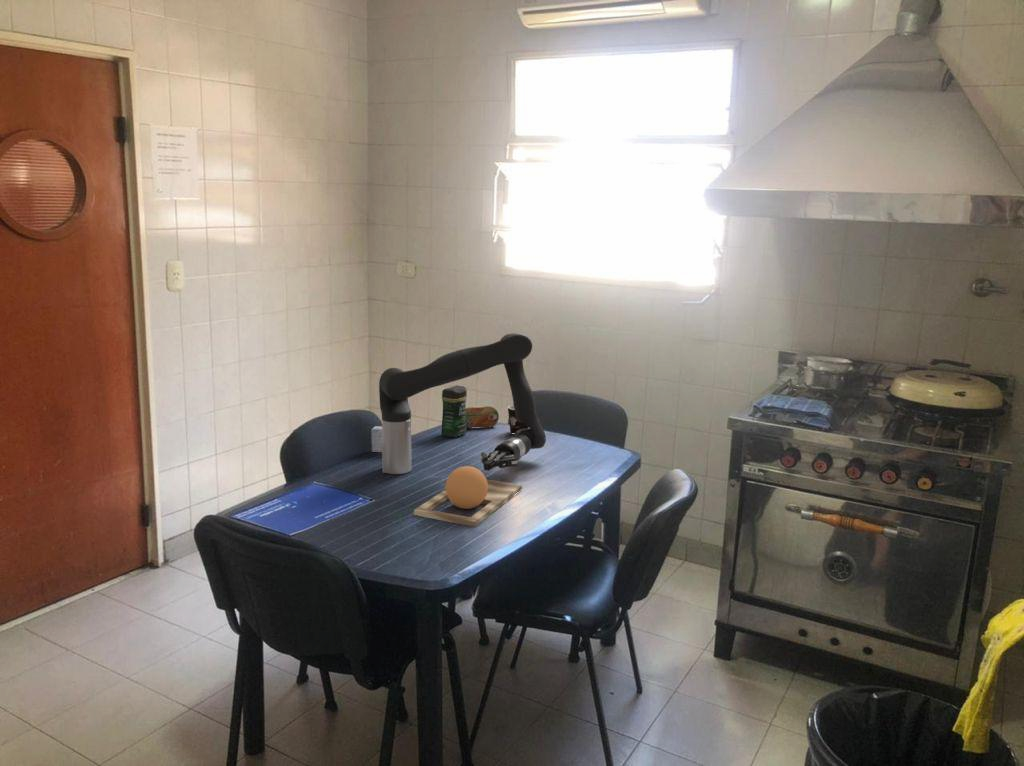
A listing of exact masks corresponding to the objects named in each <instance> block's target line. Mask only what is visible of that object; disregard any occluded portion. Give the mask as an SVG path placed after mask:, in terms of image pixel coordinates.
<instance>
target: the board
mask: <svg viewBox="0 0 1024 766" xmlns="http://www.w3.org/2000/svg"><path fill="white" fill-rule="evenodd" d="M486 480H487V484H488V491H487V495H486V497H485V499H484V500H483V501H482V502H481V503H480V504H479V505H484V507H482V508H481V509H480V510H479V511H476V512H475V513H474V514H473V515H472V516H470V517H469V516H465V515H460V514H454V513H447V512H443V511H438V510H434V509H435V508H437V507H439V506H440V505H441V504H443V503H444V502H446V501H447V500H449V498H448V497H447V494H446V488H445V489H444V490H442V491H441V492H439V493H438V494H436V495H435V496H433V497H432V498H430V499H428V500H427V501H426V502H424V503H422V504H420V505H419V506H418V507H416V508H415V509H413V515H414V516H416V515H417V516H418V517H423V518H427V519H428V518H429V519H431V520H432V519H433V520H438V521H444V522H449V523H454V524H459V525H464V526H469V527H477V526H478V525H480V523H482V522H483V521H485V520H486V519H487V518H488V517H490V516H491V515H492V514H494V513H495V512H496V511H497V510H498V509H500V508H501V507H502V506H503V504H504V503H505V502H506V501H507V502H509V501H510V500H511V499H512V498H514V497H515V496H516V495H517V494H518V493H517V492H519V491H520V490H521V489H522V490H523V485H522V484H516V483H511V482H503V481H500V480H491V479H487V478H486ZM522 490H521V491H522ZM521 491H520V492H521ZM520 492H519V493H520ZM516 493H517V494H516ZM515 494H516V495H515ZM514 495H515V496H514ZM513 496H514V497H513ZM511 497H512V498H511ZM510 498H511V499H510ZM509 499H510V500H509ZM508 500H509V501H508ZM507 502H506V503H507ZM506 503H505V504H506ZM485 504H487V505H485ZM505 504H504V505H505ZM501 505H502V506H501ZM500 506H501V507H500ZM499 507H500V508H499ZM497 508H498V509H497ZM496 509H497V510H496ZM495 510H496V511H495ZM494 511H495V512H494ZM491 513H492V514H491ZM490 514H491V515H490ZM489 515H490V516H489ZM484 519H485V520H484Z"/></svg>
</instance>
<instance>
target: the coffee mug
mask: <svg viewBox="0 0 1024 766" xmlns="http://www.w3.org/2000/svg"><path fill="white" fill-rule="evenodd" d="M507 412H508V420H509V421H508V423H509V431H510V432H511V433H515V432H516V431H518V430H520V429H528V428H530V426H529V425H528V424H526V423H521V422H518V421H517V419H516V415H515V414H516V413H515V409H514V404H512V405H511V404H510V405H509V406H507ZM511 433H510V434H511Z"/></svg>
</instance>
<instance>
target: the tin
mask: <svg viewBox="0 0 1024 766" xmlns="http://www.w3.org/2000/svg"><path fill="white" fill-rule="evenodd" d="M499 417H500V415H499V412H498V410H497V409H496V408H495V407H492V406H489V405H485V406H484V405H482V406H481V405H480V406H468V407H466V429H467V428H472V427H490V426H493V427H495V426H496V425H497V424H498V421H499V419H500V418H499Z"/></svg>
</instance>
